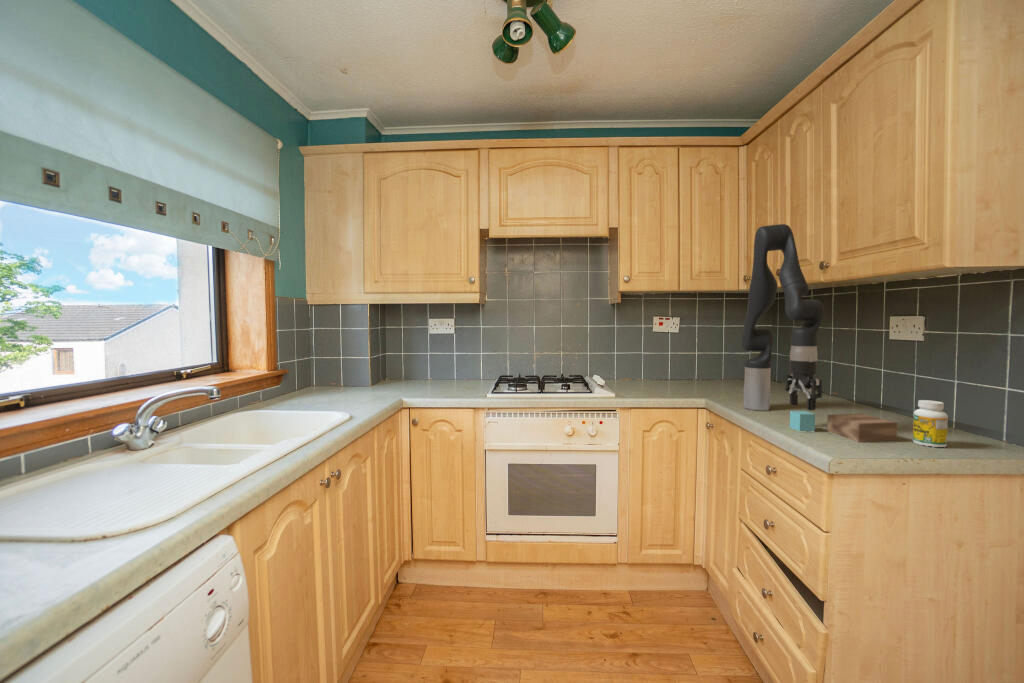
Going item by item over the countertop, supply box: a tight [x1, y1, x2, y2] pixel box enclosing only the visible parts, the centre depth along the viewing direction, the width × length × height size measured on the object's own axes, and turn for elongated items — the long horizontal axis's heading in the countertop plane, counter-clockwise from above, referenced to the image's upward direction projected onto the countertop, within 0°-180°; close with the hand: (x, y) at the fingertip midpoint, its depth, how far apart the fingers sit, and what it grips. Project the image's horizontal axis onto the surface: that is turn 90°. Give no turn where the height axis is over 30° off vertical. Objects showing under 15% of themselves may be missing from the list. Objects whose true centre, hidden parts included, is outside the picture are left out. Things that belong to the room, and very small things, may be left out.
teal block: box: [789, 410, 816, 432], centre depth 141 cm, size 5×5×6 cm
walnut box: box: [826, 413, 898, 443], centre depth 133 cm, size 12×12×6 cm
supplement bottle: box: [912, 399, 949, 448], centre depth 124 cm, size 7×7×13 cm
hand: (802, 407), depth 140 cm, fingers open, 8 cm apart
